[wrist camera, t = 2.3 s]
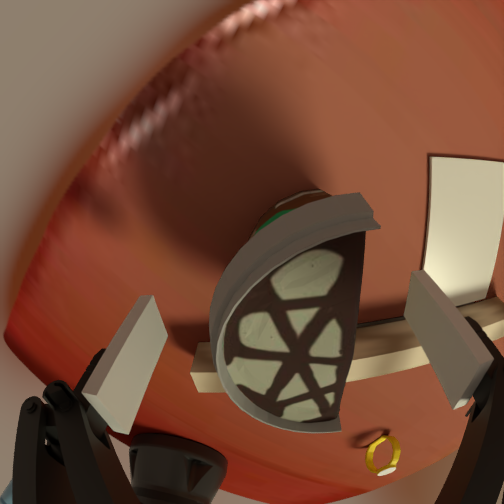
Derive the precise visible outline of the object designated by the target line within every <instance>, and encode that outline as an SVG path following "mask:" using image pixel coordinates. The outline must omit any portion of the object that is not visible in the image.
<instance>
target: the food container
mask: <svg viewBox="0 0 504 504" xmlns="http://www.w3.org/2000/svg"><path fill="white" fill-rule="evenodd" d="M380 227H381V226H380V225H379V224H378V223H377V222H376V221H375V220H374V219H373V210H372V209H371V207H370V206H369V204H368V203H367V202H366V200H365V199H364V198H363V196H362V195H361V194H360V192H359V193H351V194H343V195H335V196H332V195H330V194H328V193H326V192H324V191H322V190H320V189H314V190H307V191H301V192H298V193H296V194H294V195H291V196H289V197H287V198H285V199H282V200H280V201H278V202H277V203H276V204H275V205H274V206H273V207H272V208H270V209H269V210H268V211H267V212H266V213H265V214H264V215H263V216H261V218H260V220H259V221H258V223H257V225H256V227H255V228H254V230H253V232H252V234H251V235H250V238H249V241H248V242H247V243H246V244H245V245H244V246H243V247H242V248H241V249H240V250H239V251H238V253H237V254H236V255H235V256H234V258H233V259H232V260H231V262H230V263H229V264H228V266H227V267H226V268H225V270H224V272H223V274H222V276H221V278H220V280H219V282H218V284H217V286H216V288H215V292H214V295H213V299H212V302H211V306H210V317H209V332H210V344H211V352H212V359H213V364H214V366H215V369H216V372H217V374H218V377H219V378H220V381H221V383H222V386H223V388H224V390H225V391H226V393H227V394H228V395H229V397H230V398H231V400H232V401H233V402H234V403H235V404H236V405H237V406H238V407H239V408H240V409H241V410H243V411H244V412H246V413H247V414H249V415H250V416H252V417H253V418H255V419H257V420H259V421H261V422H263V423H265V424H268V425H271V426H274V427H277V428H280V429H284V430H289V431H294V432H303V433H331V432H340V431H341V425H340V418H339V411H340V402H341V398H342V394H343V390H344V387H345V383H346V379H347V376H348V373H349V370H350V367H351V363H352V360H353V356H354V348H355V340H356V330H357V321H358V312H359V302H360V293H361V284H362V274H363V263H364V251H365V235H366V231H368V230H375V229H380Z"/></svg>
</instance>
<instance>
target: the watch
mask: <svg viewBox="0 0 504 504" xmlns="http://www.w3.org/2000/svg"><path fill="white" fill-rule="evenodd" d="M385 439H388V440H389V441H390V442H391V443H392V448H393V454H392V459H391V461H390V462H389V464H388V465H386V466H383V467H381V468H380V469H377V468H376V467H375V466H374V463H373V452H374V450H375V448H376V446H377V445H378V444H380V443H381V442H383V441H384V440H385ZM400 450H401V449H400V445H399V442H398V440H397V439H396V438H395V437H393V436H385V435H383V436H381V437H380V438H378V439H377V440H376V441H374V442H373V443H371V444H370V445H369V447H368V449H367V451H366V457H365V462H366V466H367V468H368V469H369V470H370V471H371V472H372V473H377V475H378V476H382V475H386V474H388V473H391V472H393V471H394V470H395V469H396V463H397V462H398V459H399V456H400Z"/></svg>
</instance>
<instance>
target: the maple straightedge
mask: <svg viewBox="0 0 504 504" xmlns="http://www.w3.org/2000/svg"><path fill="white" fill-rule="evenodd" d="M472 303H473V304H472ZM468 304H470V305H468ZM464 305H466V306H464ZM460 306H462V307H460ZM455 307H456V308H457V307H458V308H457V309H458V310H459V312H460V313H461V314H462V315H463V317H467V316H469V317H471V318H472V319H474V320H475V321H477V322H478V324H479V325H480V326H481V327H482V329H483V331H485V333H486V334H487V337H489V338H490V339H491V341H494V340H496V339H499V338H501V337H503V336H504V303H503V302H502V301H501V300H500V299H499V298H498V297H494V298H491V299H487V300H484V301H480V302H477V303H474V302H470V303H466V304H463V305H459V306H455ZM404 319H406V318H405V317H404V316H402V317H396V318H391V319H386V320H380V321H374V322H368V323H362V324H357V330H356V340H355V348H354V356H353V360H352V363H351V367H350V370H349V373H348V376H347V379H346V382H349V381H354V380H360V379H365V378H370V377H375V376H380V375H385V374H389V373H393V372H398V371H402V370H406V369H410V368H414V367H417V366H421V365H425V364H428V363H430V361H429V360H428V358H427V356H426V354H425V352H424V350H423V348H422V346H421V345H420V343H419V341H418V339H417V337H416V336H415V334H414V332H413V330H412V329H411V327H410V325H409V323H408V322H407V320H404ZM399 320H401V321H399ZM394 321H396V322H394ZM388 322H391V323H388ZM383 323H386V324H383ZM377 324H380V325H377ZM371 325H374V326H371ZM365 326H368V327H365ZM359 327H362V328H359ZM190 374H191V376H192V378H193V381H194V383H195V385H196V388H197V390H198V392H226V391H225V390H224V388H223V386H222V383H221V381H220V378H219V377H218V374H217V372H216V369H215V366H214V364H213V359H212V352H211V344H210V342H198V346H197V349H196V353H195V356H194V360H193V364H192V367H191V371H190Z"/></svg>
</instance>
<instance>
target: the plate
mask: <svg viewBox="0 0 504 504" xmlns="http://www.w3.org/2000/svg"><path fill="white" fill-rule="evenodd" d="M429 158H430V181H429V207H428V221H427V232H426V242H425V250H424V258H423V265H422V270H425V271H426V273H427V274H428V275H429V276H430V277H431V278H432V279H433V280H434V282H435V283H436V284H437V285H438V286H439V287H440V288H441V290H442V291H443V292H444V293H445V294H446V296H447V297H448V298H449V299H450V300H451V302H452V303H453V304H454V305H455V306H459V305H463V304H466V303H470V302H474V301H477V300H481V299H485V298H486V295H487V291H488V288H489V284H490V281H491V277H492V273H493V269H494V265H495V261H496V256H497V252H498V247H499V241H500V236H501V230H502V224H503V216H504V162H496V161H487V160H477V159H465V158H450V157H429Z"/></svg>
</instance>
